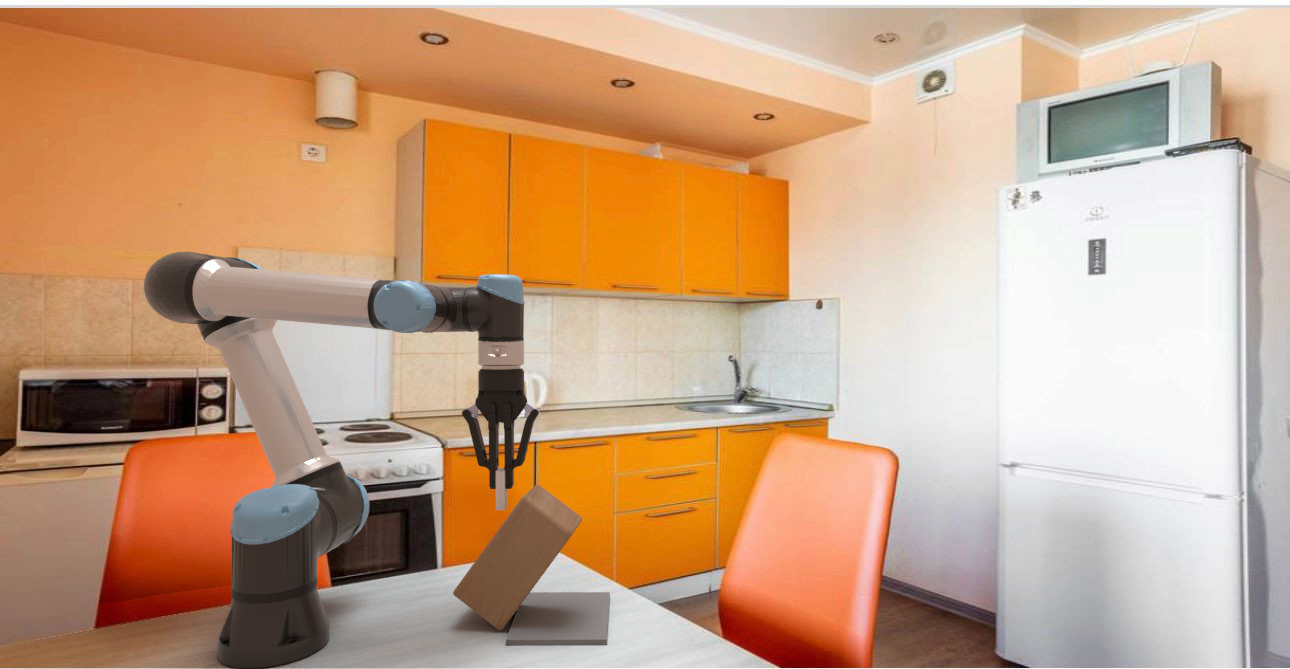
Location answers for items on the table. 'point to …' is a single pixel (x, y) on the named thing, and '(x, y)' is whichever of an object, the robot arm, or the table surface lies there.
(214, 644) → the table surface
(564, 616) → the mat
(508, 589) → the wooden block
